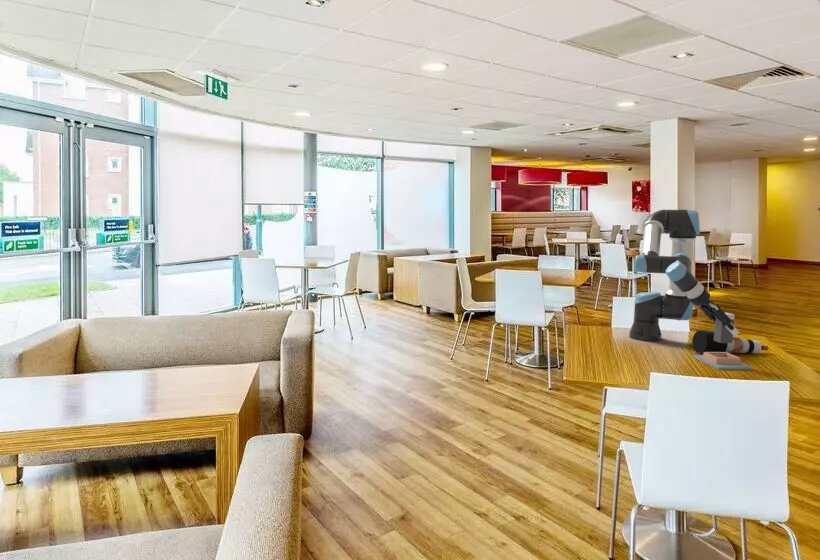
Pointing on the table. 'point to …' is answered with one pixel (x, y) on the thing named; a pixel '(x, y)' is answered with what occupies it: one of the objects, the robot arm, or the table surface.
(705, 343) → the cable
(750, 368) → the dock
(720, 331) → the plug
